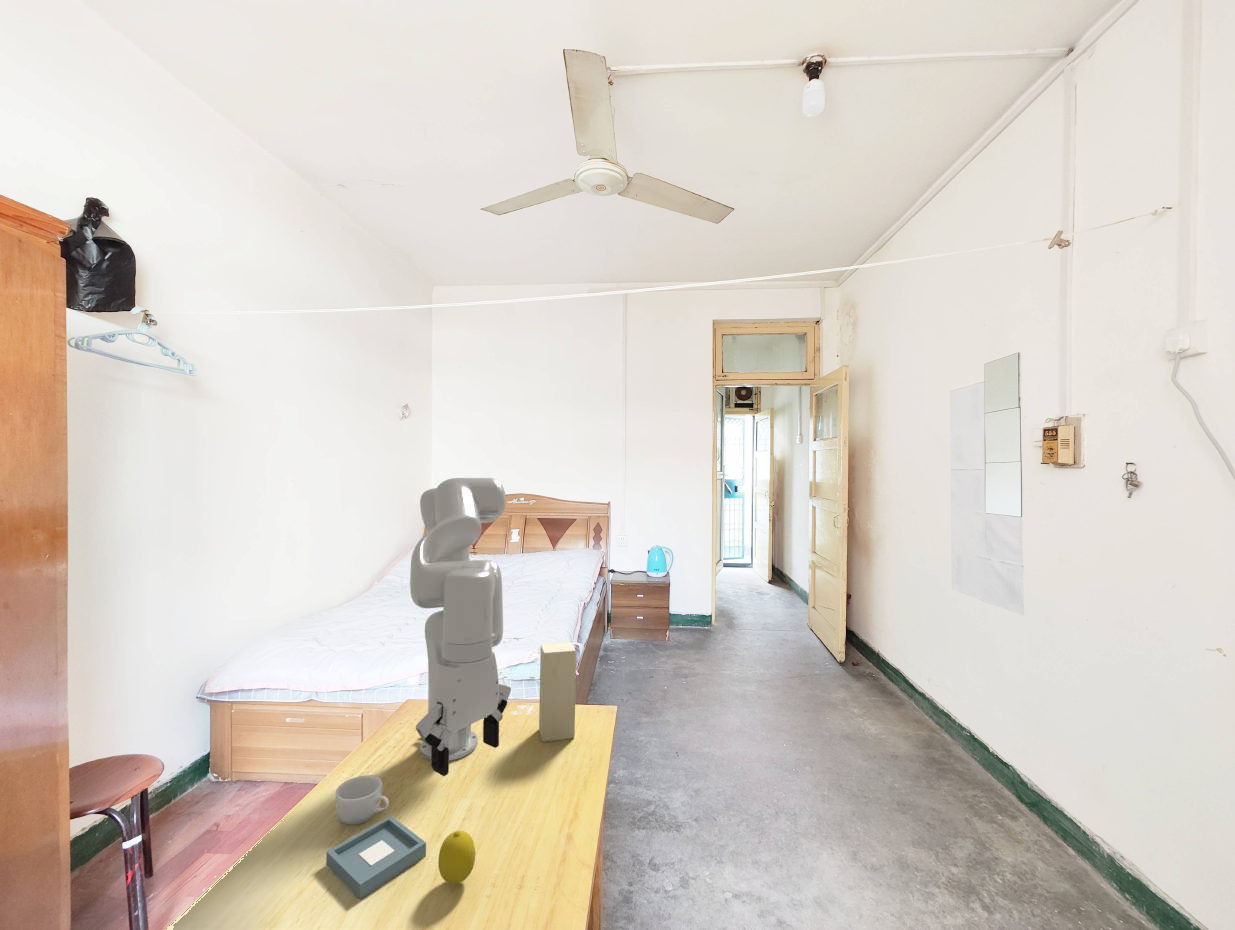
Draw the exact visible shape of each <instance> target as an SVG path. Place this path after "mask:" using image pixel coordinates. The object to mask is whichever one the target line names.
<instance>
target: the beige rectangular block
mask: <svg viewBox="0 0 1235 930" xmlns="http://www.w3.org/2000/svg"><path fill="white" fill-rule="evenodd" d="M539 654H540V655H539V656H540V658H539V659H540V664H539V707H538V708H539V711H538V715H539V716H538V729H539V734H540V737H541V741H542V742H552V741H559V740H562V741H563V740H568V739H573V738H575V732H576V730H575V729H576V728H575V727H576V726H575V724H576V682H577V681H576V679H577V677H576V675H577V674H576V673H577V651H576V649H575V646H574V645H573V643H572V642H571V641H570V642H567V641H566V642H555V643H554V642H553V643H542V644H540V653H539Z"/></svg>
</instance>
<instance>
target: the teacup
mask: <svg viewBox="0 0 1235 930" xmlns="http://www.w3.org/2000/svg"><path fill="white" fill-rule="evenodd" d="M381 800H382V801H384V804H385V806H384V807H380V804H381V802H382V801H381ZM335 804H336V805H335V806H336V813H337V816H338V819H339V820H340V821H341V822H342V823H344V824H346V825H351V826H352V825H359V824H362V823H364V822H366V821H368V820H369V819H371V818H372V817H373V816H374V815H375V814H376V813H381V812H383V811H385V810H386V809H388V807H389V805H390V804H389V799H388V797H387V796H385V795H383V781H382V779H381V778H380V777H378V776H376V775H372V774H371V775H369V774H368V775H359V776H356V777H351V778H349V779H347V780H346V781H344V782H342V783H341V784H340V785H338V787H337V788H336V790H335Z"/></svg>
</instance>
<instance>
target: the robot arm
mask: <svg viewBox="0 0 1235 930" xmlns="http://www.w3.org/2000/svg"><path fill="white" fill-rule="evenodd" d="M506 499H507V497H506V491H505V488H504V485H503V484H502V483H501V482H500V481H499V480H497V479H496V478H492V477H455V478H449V479H446V480H444V481H442V482H441V483H439V484H438V486H437V487H435V488H429V489H428V490H426V491H424V492H423V493H422V494H421V496H420V499H419V506H420V514H421V518H422V519H421V520H423V521H422V522H423V524H424V527H425V530H426V531H427V532H426V533H425V534H424V535H423V536H422V537H421V539H420V540H419V541H418V542H417V544H415V547H414V550H413V551H412V554H411V559H410V572H409V573H410V579H409V585H410V587H409V588H410V590H409V591H410V596H411V599H412V601H413V603H414V604H415V606H417V607H418V608H421V609H438V608H442V610H439V611H435V612H434V613H432V614H430V615H429V616H428V618H427V619H426V621H425V623H424V638H425V644H426V645H425V646H426V653H427V668H428V669H427V670H428V672H427V673H428V675H427V676H428V677H427V679H428V683H427V685H428V686H427V687H428V690H427V694H428V695H427V696H428V697H427V713H426V715H424V717H422V718H421V719H420V720H419V721H418V723H416V725H415V730H416V731H417V733H418V735H419V736H420V740H421V741H422V742H421V743H420V747H419V748H420V755H421V756H422V757H423V758H424V759H427V760H429V761H430V762H431V763H430V764H431V765H430V766H431V768H432V771H433V772H435V773H437V774H439V775H441V776H442V777H446V776H447V775H449V771H450V770H449V769H450V767H449V765H450V761H455V760H459V759H461V758H464V757H466V756H468V755H469V754H470V753H472V752H473V751H474V750H475V749H476V748H477V746H478V735H477V734H476V733H475V731H472V724H475V723H476V722H479V721H480V720H483V722H482V741H483V744H485V745H487V746H490V747H491V748H493V749H495V748H496V749H497V748H498V747H499V745H500V722H501V721H502V720H503V713H504V711H505V710H506V708H507V706H508V700H509V697H510V694H511V691H512V687H510V686H507V685H506V684H503V683H502V684H501V683H499V673H498V665H497V658H496V653H495V652H494V651H493V648H494V647H497V646H498V645H500V643H501V641H502V640H503V636H504V635H503V634H504V612H503V611H504V610H503V608H504V607H503V606H504V605H503V579H502V571H501V568H500V566H499V565H498V564H497V562H495V561H494V560H488V559H487V560H485V559H483V560H482V559H481V560H480V559H478V560H475V559H474V560H471V559H470V547H472V546H473V545H474V544H475V543H476V542H477V541H479V539H480V537H481V534H482V524H489V523H490V524H491V523H493V522H495V521H496V520H498V519H499V518H501V516H502V515H503V513H504V512H505V509H506V503H507V501H506Z"/></svg>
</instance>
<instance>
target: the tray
mask: <svg viewBox="0 0 1235 930" xmlns="http://www.w3.org/2000/svg"><path fill="white" fill-rule="evenodd" d="M325 854H326V856H325V858H326V859H325V861H326V862H325V865H326V866H327V867H328V869H329V870H330V871H332V872H333V874H334V875H335V876H336V877H337V878H338V879H339V880H340V881H341V882H342V883H343V884H344V885H345V886H346V887H347V888H348V889H349V890H350V892H351V891H352V893H353V894H354V895H355V896H356V897H357V898H358V899H359V900H362V899H363V898H365V897H366V896H367V895H370V894H371V893H372V892H374V891H375V890H377V889H378V888H380V887H381V886H383V885H384V884H385V883H387V882H389V881H390V880H392V879H393V878H394V877H396V876H397V875H400V873H402V872H404V871H405V870H407V869H408V868H410V867H411V866H413V865H414V864H415V863H418V862H419V861H420V860H421V859H423V858H425V857H426V856H427V842H426V841H425V840H423V839H422V838H421V837H419V836H418V835H417V834H416V833H414V832H413V831H412V830H411V829H410V828H408V827H406V826H405V825H404V824H403V823H401V822H400V821H399V820H398V819H396V818H395V817H393V816H392V815H388V816H387V817H385V818H383V819H382V820H380V821H378V822H376V823H375V824H373V825H371V826H369V827H367V828H366V829H364V830H362V831H360V832H358V833H356V834H355V835H353V836H352V837H349V838H347V839H346V840H344V841H342V842H341V843H339V844H337V845H334V847H332V848H330V849H328V850H327V851H326V853H325Z"/></svg>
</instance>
